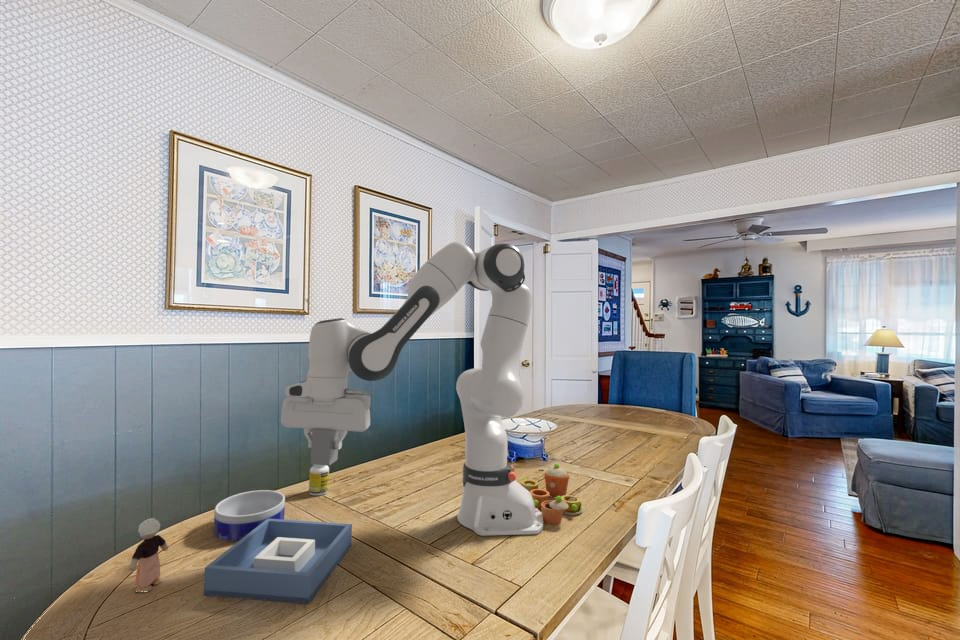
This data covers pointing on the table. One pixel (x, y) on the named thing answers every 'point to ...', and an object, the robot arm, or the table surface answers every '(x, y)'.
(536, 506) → the toy tea set
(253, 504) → the dog bowl
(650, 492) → the table surface
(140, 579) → the grandmother figurine
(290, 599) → the walled tray
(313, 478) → the supplement bottle
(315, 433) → the connector plug
